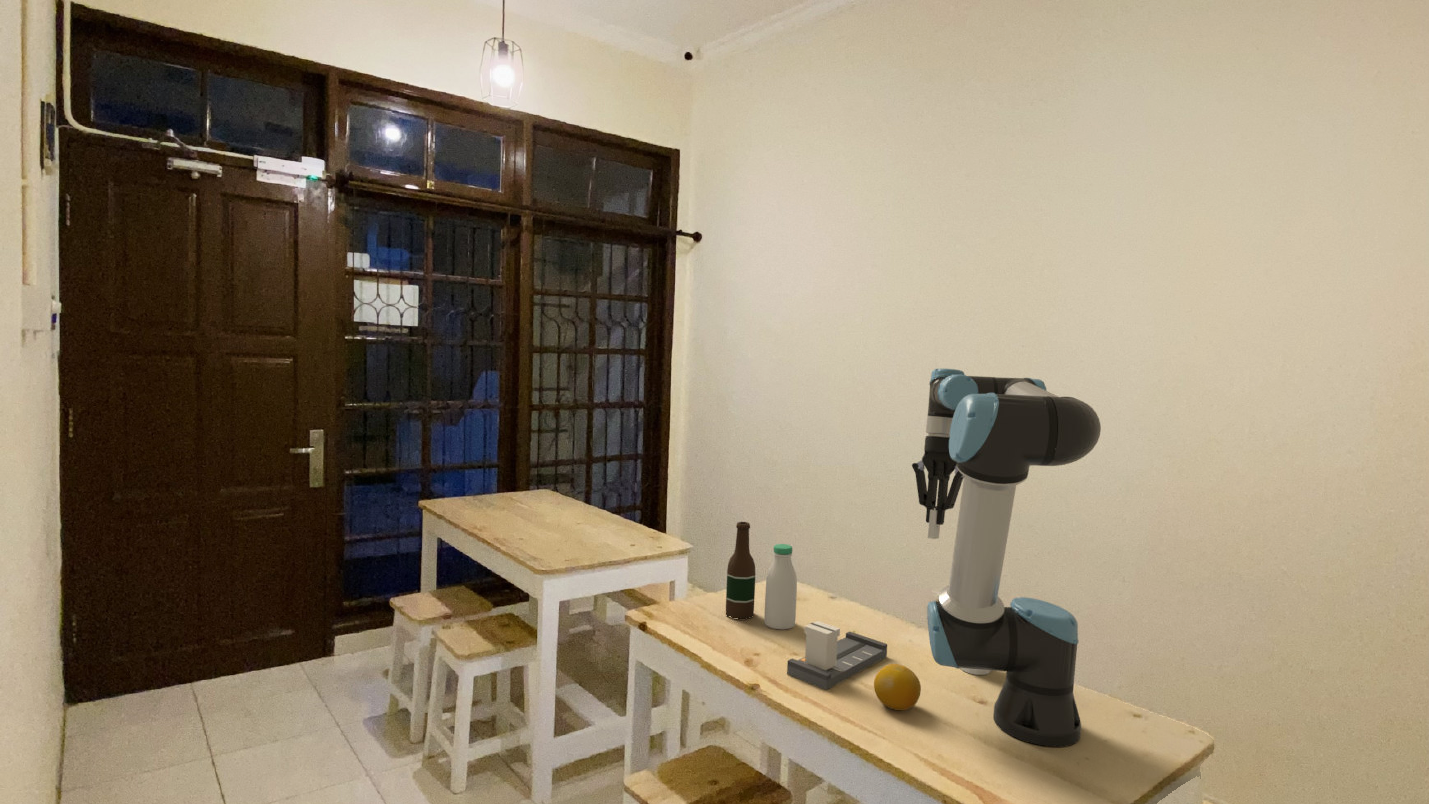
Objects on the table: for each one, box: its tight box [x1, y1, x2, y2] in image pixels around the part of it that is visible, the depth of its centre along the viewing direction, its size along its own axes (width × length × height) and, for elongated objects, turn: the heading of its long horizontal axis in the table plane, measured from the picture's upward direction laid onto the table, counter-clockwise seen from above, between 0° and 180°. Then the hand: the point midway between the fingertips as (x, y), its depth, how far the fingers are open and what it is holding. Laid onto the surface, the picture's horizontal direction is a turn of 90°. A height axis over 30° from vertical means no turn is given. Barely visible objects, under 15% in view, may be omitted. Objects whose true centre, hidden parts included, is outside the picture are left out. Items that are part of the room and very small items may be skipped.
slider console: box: [786, 630, 888, 691], centre depth 167 cm, size 24×10×3 cm, turn 137°
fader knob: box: [803, 620, 841, 671], centre depth 161 cm, size 5×6×8 cm
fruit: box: [873, 663, 922, 711], centre depth 149 cm, size 9×8×8 cm
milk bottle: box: [763, 543, 798, 630], centre depth 189 cm, size 8×8×20 cm
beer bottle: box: [725, 521, 756, 620], centre depth 194 cm, size 8×8×24 cm
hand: (933, 537), depth 175 cm, fingers closed
